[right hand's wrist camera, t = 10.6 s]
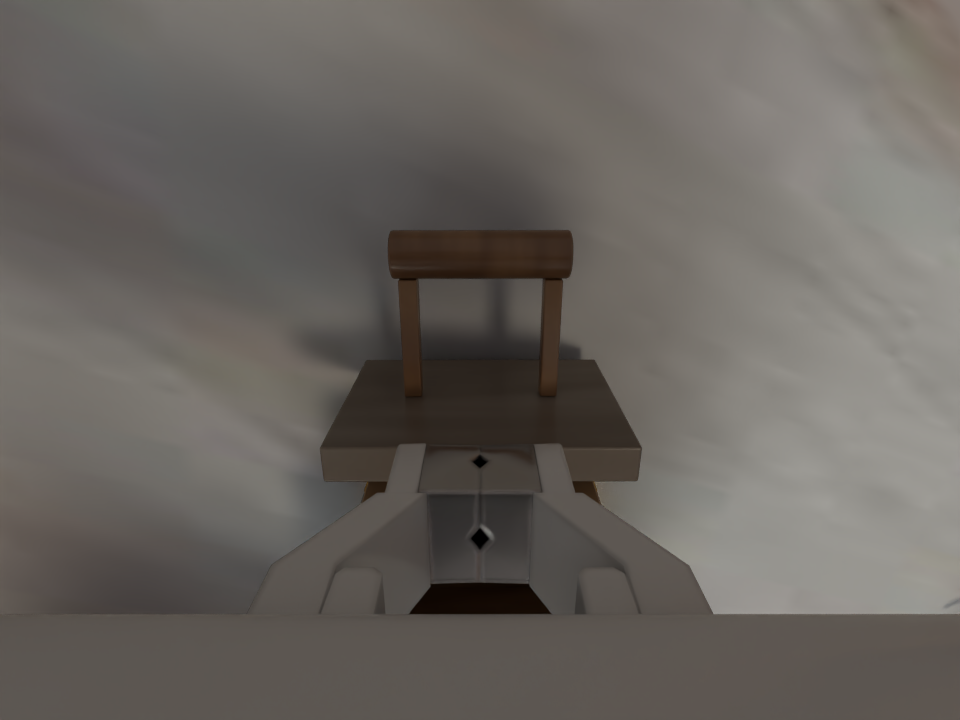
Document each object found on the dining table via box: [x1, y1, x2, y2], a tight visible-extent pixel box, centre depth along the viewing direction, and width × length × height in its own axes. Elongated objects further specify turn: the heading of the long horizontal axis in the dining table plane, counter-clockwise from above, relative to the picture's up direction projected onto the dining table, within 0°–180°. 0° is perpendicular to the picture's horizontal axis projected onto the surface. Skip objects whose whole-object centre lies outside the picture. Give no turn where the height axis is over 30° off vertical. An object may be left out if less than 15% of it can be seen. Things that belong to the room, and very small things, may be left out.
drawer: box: [320, 230, 642, 614], centre depth 20 cm, size 17×9×7 cm, turn 0°
